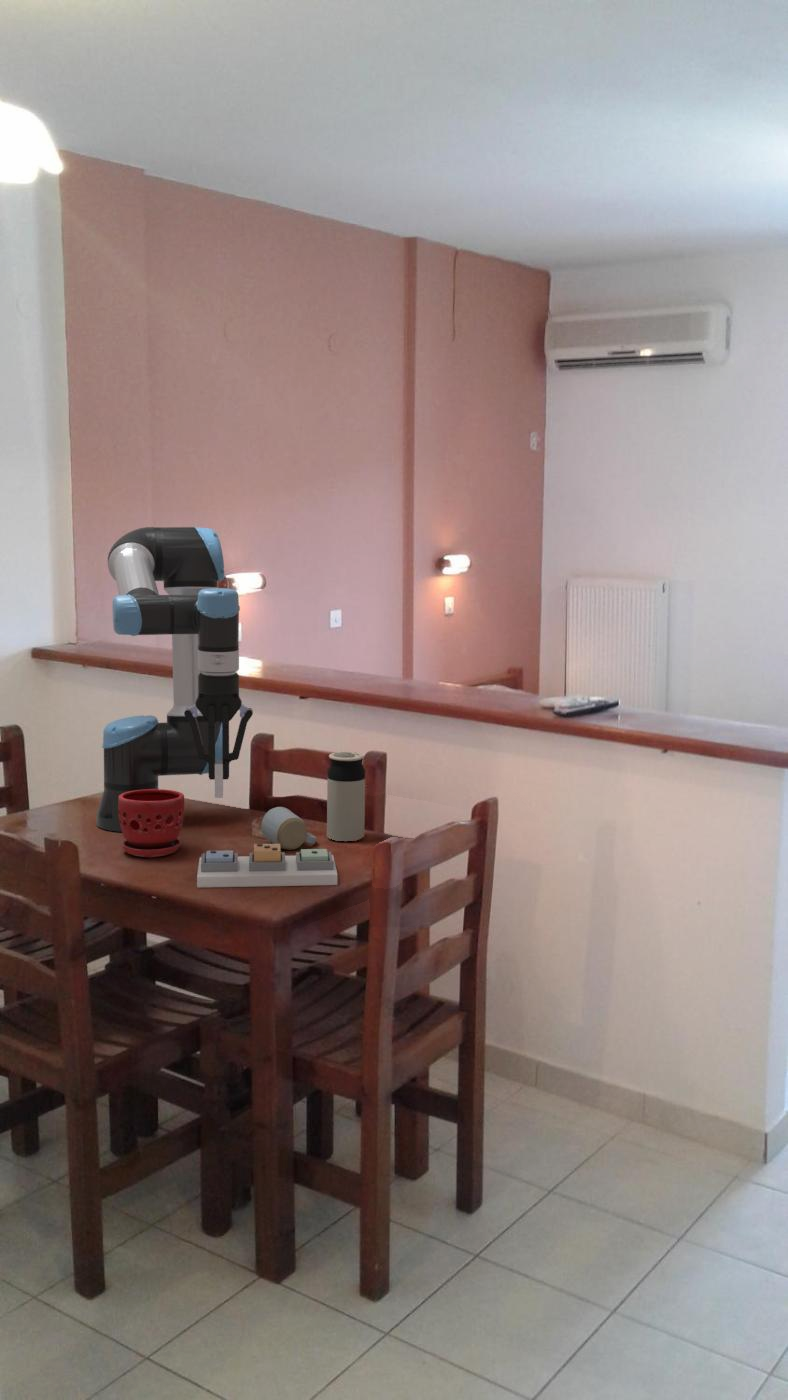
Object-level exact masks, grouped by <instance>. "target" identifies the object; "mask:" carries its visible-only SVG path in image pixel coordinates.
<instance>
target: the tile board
mask: <svg viewBox="0 0 788 1400" xmlns="http://www.w3.org/2000/svg"><path fill="white" fill-rule="evenodd" d="M248 853H249V856H247V855H246V856H244V855H243V856H239V853H238V852H233V862H229V863H206V853H202V854H201V856H199V861H198V866H197V875H196V888H198V889H199V888H201V889H202V888H238V887H239V888H240V887H241V888H246V887H247V888H249V887H254V888H255V887H292V886H293V887H295V886H296V887H297V886H298V887H299V886H302V887H303V886H338V870H337V866H336V862H335V857H334V855H333V854H332V851H327V853H328V861H301V851H296V852H295V855H286V853H285V851H283V852H282V851H281V861H262V862H254V852H248Z"/></svg>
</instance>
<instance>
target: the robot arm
mask: <svg viewBox="0 0 788 1400" xmlns="http://www.w3.org/2000/svg"><path fill="white" fill-rule="evenodd" d="M224 560H225V559H224V555H223V549H222V544H221V541H220V537H219V535H218V533H217V532H216V531H215V530H214V529H212V528H207V527H198V526H193V527H192V526H184V527H181V526H177V527H175V526H172V527H171V526H169V527H165V526H164V527H162V526H161V527H158V526H157V527H154V526H146V527H141V528H136V529H134V530H132V531H129V532H127V533H126V534H124V535H122V536H121V537H120V538H119V539H118V540H116V541H115V542H114V544H113V545H112V546H111V548H110V550H109V553H108V555H107V567H108V568H107V569H108V571H109V574H110V576H111V578H113V580H114V581H116V587H117V591H118V595H115V596H114V597H113V599H112V623H113V625H112V626H113V631H114V633H116V634H117V635H122V636H132V637H137V636H155V635H156V636H157V635H159V636H160V635H161V636H162V635H164V636H165V635H166V636H167V635H171V646H172V647H171V648H172V649H171V650H172V654H171V655H172V686H173V687H172V690H173V691H172V694H173V706H172V707H171V709H170V710H168V712H167V713H166V722H159V720H158V718H157V717H156V716H154V715H133V716H128V717H123V718H119V719H116V720H113V721H111V722H109V723H108V724H106V726H105V727H104V729H103V733H102V735H103V736H102V737H103V738H102V740H103V741H102V745H101V746H102V747H101V748H102V749H103V792H102V795H101V798H100V802H99V805H98V808H97V812H96V816H95V817H96V826H97V827H98V828H100V829H103V830H106V831H110V832H111V831H112V832H121V833H122V830H121V827H120V822H119V812H118V798H119V795H120V794H122V793H125V792H129V791H135V790H145V789H159V777H160V776H162V777H163V776H181V775H182V776H185V775H199V776H203V775H205V774H208V779H209V780H214V799H215V798H216V799H222V798H224V780H229V778H230V763H231V762H233V761H236V760H239V758H240V753H241V750H242V744H243V743H244V742H243V740H244V737H245V733H246V729H247V725H248V722H249V720H250V719H251V718H252V716H253V714H254V710H253V709H252V708H251V707H247V706H245V705H244V704H242V699H241V698H240V675H239V673H237V672H238V671H240V648H239V647H240V646H239V643H240V642H239V641H240V640H239V636H240V635H239V633H240V632H239V627H240V619H239V618H240V611H241V607H240V602H239V592H237V590H235V589H233V588H226V587H225V588H224V587H222V588H221V587H218V582H219V583H220V582H222V581H223V580H224V578H225V563H224ZM156 582H163V590H164V592H165V593H167V594H160V593H159V589H158V586H157V583H156ZM238 711H239V717H240V720H239V724H238V725H239V726H238V729H237V734H236V737H235V742H234V746H233V749H232V750H233V751H232V752H230V721H232V720H233V718H234V716H235V715H236V714H237V712H238ZM157 815H159V814H157ZM140 817H141V818H142V815H141V814H140ZM166 819H168V816H167V817H166Z"/></svg>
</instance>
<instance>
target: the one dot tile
mask: <svg viewBox="0 0 788 1400" xmlns="http://www.w3.org/2000/svg"><path fill="white" fill-rule="evenodd" d="M300 852H301V861H328V853H327V852H328V849H327V848H307V849H306V848H305V849H303V848H302V849H300Z"/></svg>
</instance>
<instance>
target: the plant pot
mask: <svg viewBox="0 0 788 1400" xmlns="http://www.w3.org/2000/svg"><path fill="white" fill-rule="evenodd" d="M118 812H119V822H120V827H121V830H122V832H121V833H122V834H123V837H124V839H125V840H124V841H123V842H122V849H123V850H124V851H125V852H126V853H127V854H130V855H132V856H136V857H140V858H141V857H142V858H150V859H153V858H158V857H165V856H168V855H170V854H173V853H175V852H177V850H179V848H180V846H181V845H182V844H181V840H179V839H178V837H179V835H180V833H181V830H182V828H183V827H182V826H183V823H184V814H185V795H184V793H182V792H180V791H176V790H171V789H159V788H158V789H145V790H135V791H129V792H125V793H122V794H120V795H119V798H118ZM140 814H141V815H142V818H141V817H140ZM157 814H159V815H157ZM166 817H167V819H166Z"/></svg>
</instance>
